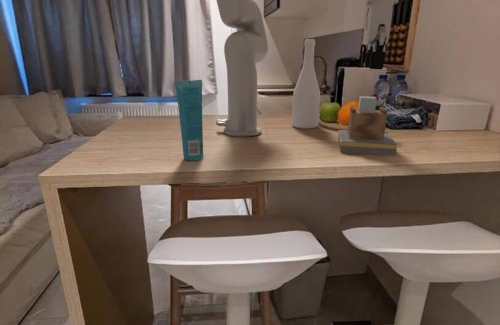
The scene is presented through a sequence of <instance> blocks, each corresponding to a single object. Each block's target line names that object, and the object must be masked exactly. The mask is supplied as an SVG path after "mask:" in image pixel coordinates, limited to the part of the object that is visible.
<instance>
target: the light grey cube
mask: <svg viewBox="0 0 500 325" xmlns="http://www.w3.org/2000/svg"><path fill="white" fill-rule="evenodd" d="M358 98H359V99H358V106H357V110H358V111H359V113H375V107H376V100H377V98H375V97H369V96H368V95H367V96H361V95H359V97H358Z"/></svg>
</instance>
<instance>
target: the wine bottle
mask: <svg viewBox="0 0 500 325" xmlns="http://www.w3.org/2000/svg"><path fill="white" fill-rule="evenodd" d="M303 45H304V54H303V63H302V64H303V66H302V69H301V70H300V73H299V77H298V79H297V82H296V85H295V87H294V90H293V94H292V109H291V110H292V113H291V114H292V115H291V125H292V127H294V128H295V129H303V130H304V129H306V130H308V129H309V130H311V129H316V128H318V126H319V118H320V105H321V90H320V86H319V82H318V79H317V75H316V71H315V70H316V69H315V64H314V63H315V61H314V60H315V46H316V39H315V38H305V40H304V42H303Z"/></svg>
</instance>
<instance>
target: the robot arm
mask: <svg viewBox="0 0 500 325" xmlns="http://www.w3.org/2000/svg"><path fill="white" fill-rule="evenodd" d="M215 1H216V4H217V9H218V12H219V16H220V20H221V21H222V23H223V24H224V25H225V26H226V27H228V28H232V29H236V31H234V32H232V33H230V35H228V37H227V38H226V39H225V41H224V42H225V43H224V48H223V53H224V58H225V59H224V60H225V64H226V76H227V77H226V78H227V80H226V81H227V118H225V119H218V118H217V119H216V121H215V125H216V126H217V127H224V128H223V134H225V135H227V136H231V137H237V138H239V137H240V138H241V137H243V138H244V137H245V138H246V137H253V136H258V135H260V134H262V128H261V127H258V122H257V121H258V71H257V66H256V64H257V63H260V62H261V61H264V59H265V58H266V57H267V55H268V49H269V43H268V38H267V34H266V29H265V24H264V20H263V16H262V13H261V9H260V7H259V5H258V4H257V2H256V1H255V0H215ZM398 3H399V0H366V1H365V4H366V5H367V6H369V7H368V12H367V18H366V23H365V24H366V25H365V31H364V37H363V44H364V45H365V46H367V48H366V53H365V60H364V68H367V69H370V70H383V69H384V63H385V55H386V44H388V41H389V38H390V32H391V25H392V20H393V19H392V18H393V11H394V5H396V4H398Z"/></svg>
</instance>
